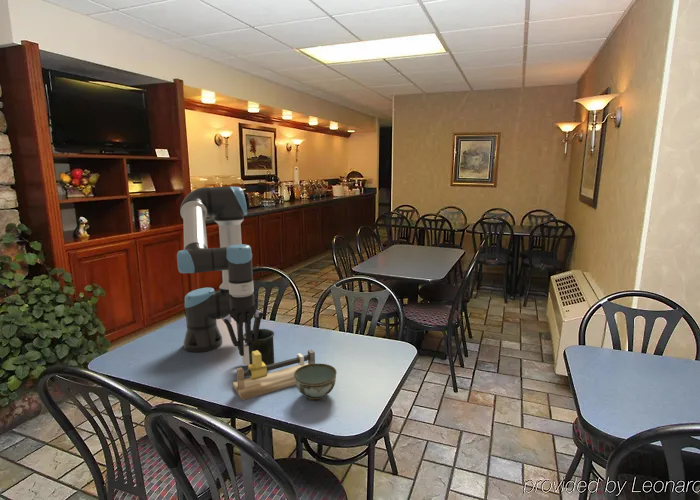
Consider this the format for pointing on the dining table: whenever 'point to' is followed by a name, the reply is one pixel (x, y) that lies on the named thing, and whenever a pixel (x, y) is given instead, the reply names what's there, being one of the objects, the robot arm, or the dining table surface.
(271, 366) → the rod
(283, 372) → the wooden slider rail
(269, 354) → the mug
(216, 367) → the dining table surface
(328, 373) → the bowl
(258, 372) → the sleeve
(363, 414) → the dining table surface
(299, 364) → the band
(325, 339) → the dining table surface
